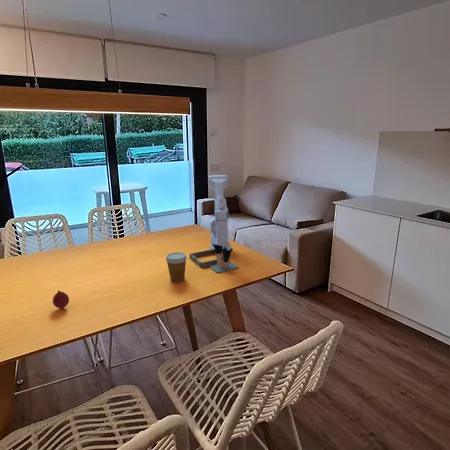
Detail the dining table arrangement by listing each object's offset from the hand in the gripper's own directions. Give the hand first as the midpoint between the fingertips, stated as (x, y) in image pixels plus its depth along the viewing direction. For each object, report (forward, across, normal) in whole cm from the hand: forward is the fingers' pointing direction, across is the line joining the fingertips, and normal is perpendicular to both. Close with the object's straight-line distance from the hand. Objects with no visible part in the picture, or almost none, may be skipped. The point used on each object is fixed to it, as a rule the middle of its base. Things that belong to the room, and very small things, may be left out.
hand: (222, 259), depth 171 cm
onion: (+4, +4, -74) cm, 74 cm away
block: (+4, 0, 0) cm, 4 cm away
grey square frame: (+4, -12, -2) cm, 13 cm away
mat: (+4, 0, 0) cm, 4 cm away
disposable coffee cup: (+4, +2, -25) cm, 26 cm away
